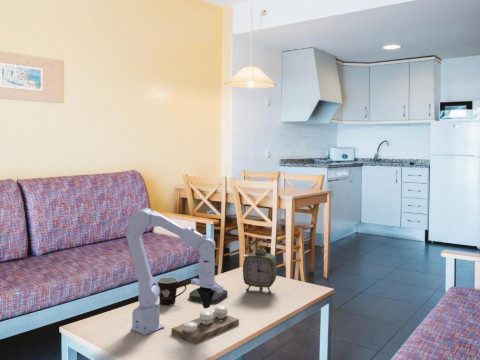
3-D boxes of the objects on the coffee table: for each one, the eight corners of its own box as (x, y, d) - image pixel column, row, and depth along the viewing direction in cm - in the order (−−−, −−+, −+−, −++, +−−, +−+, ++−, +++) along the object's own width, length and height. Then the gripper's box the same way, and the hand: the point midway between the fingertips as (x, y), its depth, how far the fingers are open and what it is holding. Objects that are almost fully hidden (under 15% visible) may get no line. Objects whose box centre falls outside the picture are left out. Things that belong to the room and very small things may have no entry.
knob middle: (206, 327, 161) (206, 317, 160) (197, 323, 164) (197, 313, 164) (215, 323, 164) (215, 313, 164) (206, 320, 168) (206, 310, 167)
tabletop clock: (242, 292, 206) (243, 239, 204) (247, 287, 214) (248, 235, 213) (273, 296, 202) (274, 241, 200) (277, 290, 210) (278, 238, 208)
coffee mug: (153, 304, 189) (153, 281, 188) (165, 298, 197) (165, 276, 196) (175, 309, 184) (175, 285, 183) (187, 302, 191) (187, 280, 191)
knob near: (189, 339, 155) (190, 328, 155) (180, 335, 158) (180, 324, 158) (199, 335, 158) (199, 324, 158) (190, 331, 162) (190, 321, 161)
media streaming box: (214, 305, 189) (214, 298, 189) (185, 300, 196) (185, 293, 196) (230, 295, 203) (230, 289, 202) (202, 290, 209) (202, 284, 209)
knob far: (221, 321, 167) (221, 311, 167) (212, 317, 170) (212, 308, 170) (229, 317, 170) (230, 307, 170) (220, 314, 174) (220, 304, 173)
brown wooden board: (194, 344, 152) (194, 338, 152) (171, 333, 159) (171, 328, 159) (238, 324, 169) (238, 319, 169) (215, 316, 177) (216, 311, 177)
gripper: (229, 272, 161) (228, 309, 162) (200, 265, 170) (200, 300, 171) (215, 276, 156) (214, 314, 157) (187, 268, 165) (186, 304, 166)
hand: (206, 307), depth 164 cm, fingers closed
